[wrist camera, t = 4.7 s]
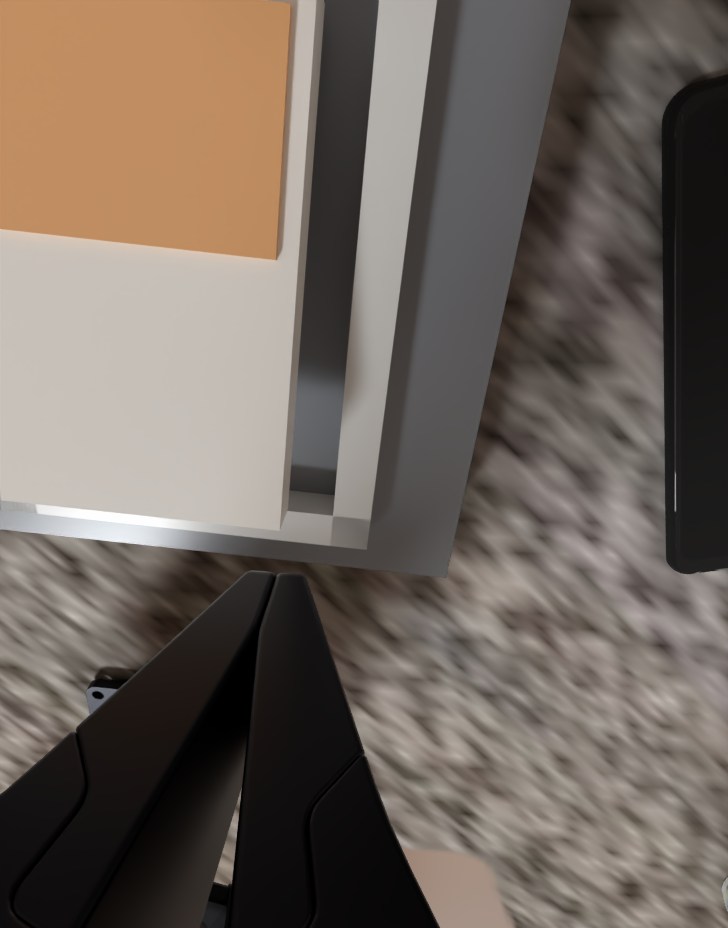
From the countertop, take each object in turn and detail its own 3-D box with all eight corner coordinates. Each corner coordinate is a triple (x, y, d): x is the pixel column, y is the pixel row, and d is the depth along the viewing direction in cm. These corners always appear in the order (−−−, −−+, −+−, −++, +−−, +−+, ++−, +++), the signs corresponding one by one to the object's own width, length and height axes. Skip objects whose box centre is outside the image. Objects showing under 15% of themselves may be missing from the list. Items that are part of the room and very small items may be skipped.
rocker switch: (287, 509, 14) (278, 534, 13) (31, 481, 14) (-4, 502, 13) (324, 4, 11) (317, -31, 10) (-4, -34, 11) (-55, -74, 10)
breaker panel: (439, 520, 21) (448, 605, 17) (3, 472, 21) (-81, 547, 17) (575, -162, 12) (650, -281, 9) (-165, -250, 12) (-405, -407, 9)
